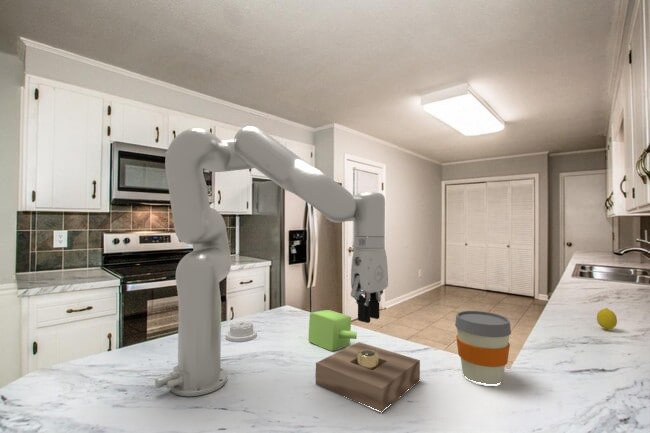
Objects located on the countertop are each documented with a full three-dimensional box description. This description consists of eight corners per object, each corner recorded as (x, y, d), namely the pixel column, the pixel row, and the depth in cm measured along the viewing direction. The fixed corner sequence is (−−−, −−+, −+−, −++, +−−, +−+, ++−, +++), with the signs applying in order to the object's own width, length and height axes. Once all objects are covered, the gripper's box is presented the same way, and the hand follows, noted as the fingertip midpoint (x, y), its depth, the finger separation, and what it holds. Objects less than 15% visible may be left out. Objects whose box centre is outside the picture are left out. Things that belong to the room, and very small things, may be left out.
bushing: (371, 390, 74) (371, 359, 74) (353, 383, 78) (353, 353, 78) (382, 382, 78) (382, 352, 78) (364, 375, 81) (365, 347, 82)
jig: (381, 413, 65) (381, 388, 65) (315, 383, 77) (315, 362, 77) (419, 380, 79) (419, 360, 79) (358, 359, 91) (358, 341, 91)
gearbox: (364, 349, 100) (366, 318, 100) (343, 357, 93) (345, 323, 93) (323, 333, 113) (325, 306, 113) (302, 339, 106) (303, 310, 106)
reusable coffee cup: (511, 373, 83) (511, 315, 83) (510, 396, 72) (510, 328, 73) (459, 362, 89) (459, 308, 90) (451, 381, 79) (451, 319, 79)
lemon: (593, 328, 119) (593, 306, 120) (603, 327, 121) (603, 305, 121) (610, 333, 114) (610, 310, 114) (621, 332, 116) (620, 309, 116)
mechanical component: (221, 342, 103) (252, 342, 103) (222, 328, 104) (253, 329, 104) (230, 332, 113) (259, 332, 113) (231, 319, 114) (259, 319, 114)
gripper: (362, 246, 70) (362, 331, 70) (399, 242, 82) (399, 315, 82) (335, 244, 75) (335, 324, 74) (374, 241, 87) (373, 310, 87)
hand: (368, 318), depth 78 cm, fingers open, 3 cm apart
